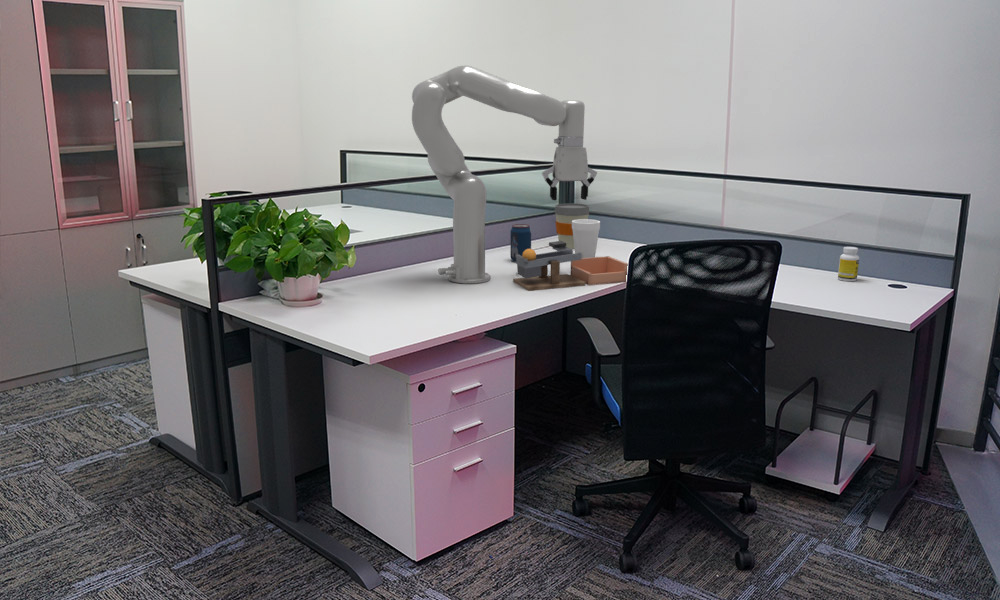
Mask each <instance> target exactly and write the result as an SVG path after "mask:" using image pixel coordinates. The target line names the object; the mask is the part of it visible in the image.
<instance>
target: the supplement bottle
mask: <svg viewBox="0 0 1000 600" xmlns="http://www.w3.org/2000/svg"><path fill="white" fill-rule="evenodd" d="M858 252H859V247H856V246H844V247H843V253H842V254H841V255H839V262H838V263H839V265H838V272H837V279H838V280H840V281H842V282H843V281H844V282H856V281H857V280H858V273H859V266H860V265H859V263H860V256H859V255H858Z"/></svg>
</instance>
